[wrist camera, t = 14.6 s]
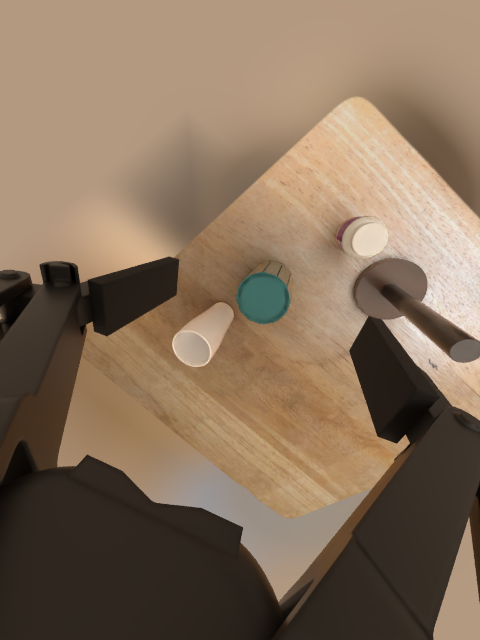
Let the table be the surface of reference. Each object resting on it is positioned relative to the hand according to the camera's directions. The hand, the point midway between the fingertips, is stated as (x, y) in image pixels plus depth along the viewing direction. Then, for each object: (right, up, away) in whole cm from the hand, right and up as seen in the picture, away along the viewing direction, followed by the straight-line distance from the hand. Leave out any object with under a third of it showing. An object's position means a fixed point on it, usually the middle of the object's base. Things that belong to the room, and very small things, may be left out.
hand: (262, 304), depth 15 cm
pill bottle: (+17, +13, +20) cm, 29 cm away
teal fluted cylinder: (+4, +6, +26) cm, 27 cm away
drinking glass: (-5, 0, +32) cm, 32 cm away
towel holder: (+23, +4, +22) cm, 32 cm away
